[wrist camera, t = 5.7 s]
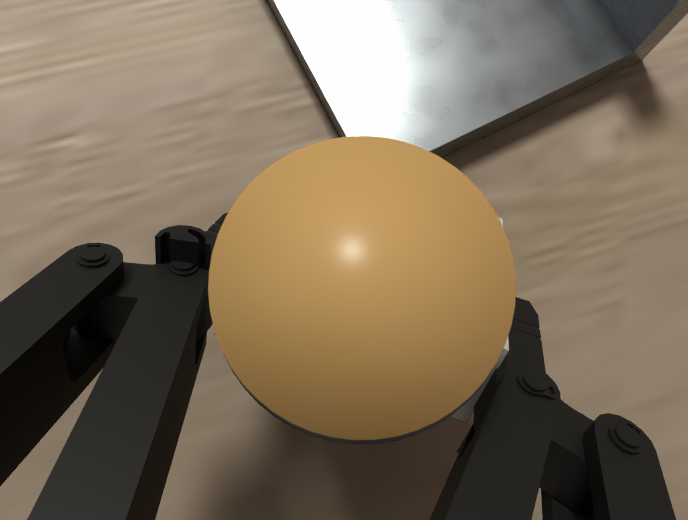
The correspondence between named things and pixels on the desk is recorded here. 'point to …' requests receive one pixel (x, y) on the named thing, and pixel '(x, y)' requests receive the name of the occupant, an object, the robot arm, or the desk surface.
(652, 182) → the desk surface
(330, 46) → the plate
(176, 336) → the robot arm
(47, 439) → the desk surface
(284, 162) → the grey cylinder orange top
